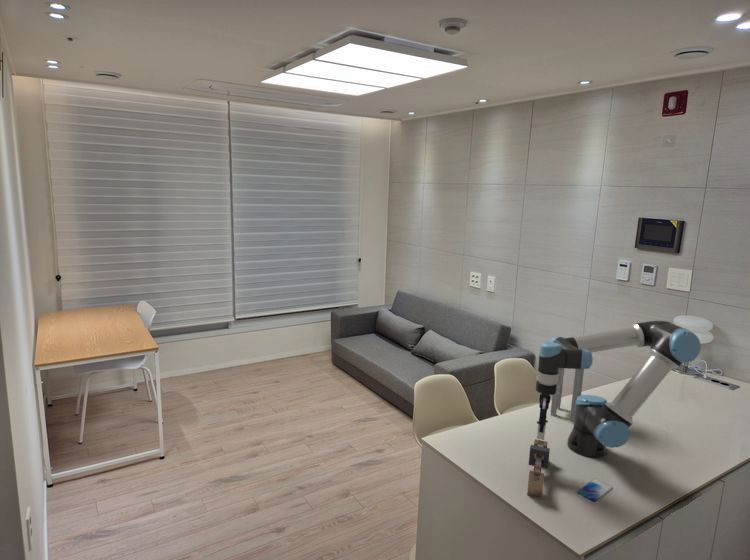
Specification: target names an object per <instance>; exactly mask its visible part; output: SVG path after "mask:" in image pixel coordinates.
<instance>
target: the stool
mask: <svg viewBox="0 0 750 560" xmlns="http://www.w3.org/2000/svg"><path fill="white" fill-rule="evenodd" d="M574 370H575V371H574V377H573V378H574V379H573V387H572V388H573V389H572V397H571V405H570V415H569V421H570V422H574V419H575V409H576V401H577V398H578V397H579V396H581V395H582V392H583V391H582V390H583V382H584V372H585V369H574ZM564 375H565V368H559V372H558V382H557V389H556V393H555V394H554V395H551V405H550V414H549V415H550V416H552V417H556V416H557V413H558V409H559V410H560V409H561V404H562V402H561V401H562V395H563V386H564V385H563V384H564Z"/></svg>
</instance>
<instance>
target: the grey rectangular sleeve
mask: <svg viewBox="0 0 750 560" xmlns="http://www.w3.org/2000/svg"><path fill="white" fill-rule="evenodd" d="M550 451H551V448H549V447H547V448H545V447H540V446H536V445H534V444H530V447H529V458H528V466H533V467H534V465H535V462H536V458H534V456H535V454H540V455H544V460H542V461H541V467H542V468H541V469H545V470H548V469H549V461H550Z"/></svg>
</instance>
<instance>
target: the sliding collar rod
mask: <svg viewBox="0 0 750 560" xmlns="http://www.w3.org/2000/svg"><path fill="white" fill-rule="evenodd" d="M548 442H549V441H546V440H542V439H537V438H536V439H534V442H533V445H536V446H540V447H545V448H548ZM534 458H536V462H535V465H534V466H533V470H529V474H528V483H527V485H528V486H527V494H526V495H527V496H529V495H530V497H534V498H538V499H543V492H544V482H545V481H544V480H545V473H542V469H543V468H542V467H541V461H542V460H544V455H540V454H535V456H534Z"/></svg>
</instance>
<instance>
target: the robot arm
mask: <svg viewBox="0 0 750 560" xmlns="http://www.w3.org/2000/svg"><path fill="white" fill-rule="evenodd" d="M632 346H637V347H638V348H643V347H649V352H650V353H649V356H648V357H647V358H646V359H645V361H644V362H643V363H642V365H641V366H640V367H639V368H638V369H637V370H636V372H634V374H633V375H632V377H631V378H630V379H629V381H628V382H627V383H626V384H625V385H624V386H623V388H622V389H621V390H620V391H619V392H618V394H617V395H616V396H615V398H614V399H613V400H612V402H608V400H607V399H606V398H604V397H601V396H598V395H593V394H581V396H579V397H578V398H577V401H576V409H575V419H574V421H573V428H572V430H571V432H570V433H569V436H568V438H567V442H566V443H567V444H566V445H567V447H568V448H569V449H570V450H571V451H572V452H574V453H576V454H578V455H581V456H584V457H588V458H589V457H591V458H600V457H601V458H602V457H603V456H605V455H606V453H607V448H619V447H622V446H624V445H625V444H626V443H628V441H629V439H630V437H631V430H630V428H631V426H633V423H634V422H633V417H634V416H635V414H637V412H638V411H639V409H640V408H642V406H643V405H644V404H645V402H646V401H647V400H648V398H649V397H650V396H651V395H652V394H653V393H654V391H655V390H656V389H657V387H659V385H660V384H661V382H662V381H663V380H664V379H665V378H666V377H667V376H668V374H669V373H670V372H671V370H672V369H678V368H680V367H682V364H683V363H689V362H691V363H692V362H693V361H695V360H696V359H697V357H698V356H699V355H700V353H701V347H702V346H701V341H700V338H699V337H698V335H697V334H695V333H694V332H692V331H690V330H689V329H687V328H685V327H682V326H679V325H677V324H675V323H672V322H670V321H666V320H651V321H649V320H648V321H643V322H638V323H637V322H635V323H633V324H631V326H628V327H622V328H618V329H611V330H606V331H600V332H594V333H589V334H583V335H577V336H572V337H562V336H561V335H560V336H559V335H557V336H553V337H552V338H551V339H550V340H549V341H544V342H542V343H541V344H540V347H539V351H538V364H537V365H538V366H537V371H535V375H536V382H535V383H536V384H535V391H536V392H537V393H538V394H539V408H540V410H539V417H538V421H536V424H537V425H538V426H537V435H536V439H537V440H541V441H545V435H546V427H547V424H549V423H548V421H549V420H547V413H548V410H549V409H550V403H551V398H552V395H554V394H555V393H556V389H557V382H558V372H559V368H564V369H570V370H571V369H573V370H575V369H584V370H588V369H590V368H591V367H592V366H593V355H592V353H596V352H603V351H609V350H614V349H620V348H627V347H632Z"/></svg>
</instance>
